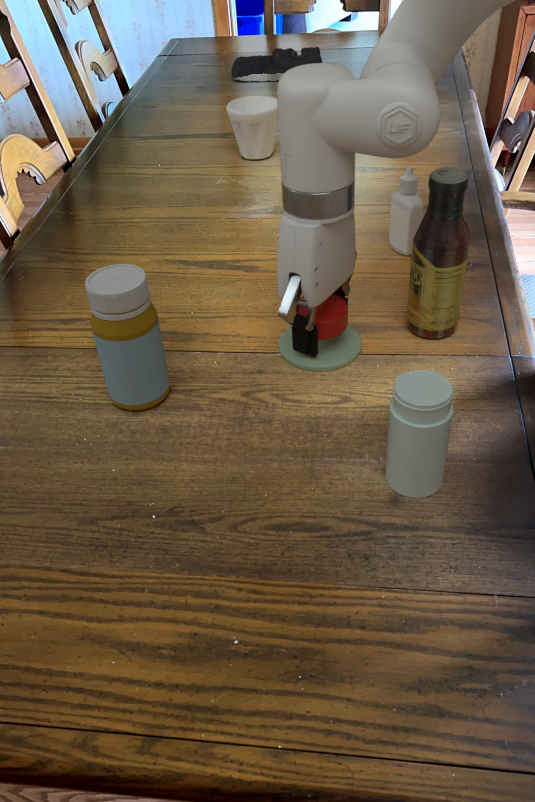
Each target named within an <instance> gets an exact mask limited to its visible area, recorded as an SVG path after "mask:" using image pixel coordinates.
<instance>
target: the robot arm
mask: <svg viewBox="0 0 535 802" xmlns="http://www.w3.org/2000/svg"><path fill="white" fill-rule="evenodd" d="M516 1H517V0H401V2H400V4H399V5H398V7H397V8H396V10H395V12H394V13H393V15H392V17H391V18H390V20H389V22H388V24H387V25H386V27H385V29H384V30H383V31H382V33H381V35H380V36H379V38H378V40H377V42H376V43H375V45H374V46H373V48H372V49H371V52H370V54H369V55H368V57H367V58H366V60H365V63H364V65H363V67H362V69H361V72H360V75H359V78H356V77H355V76H354V75H353V73H352V71H350V70H349V69H348V68H347V67H345V66H343V65H339V64H336V63H325V62H322V63H313V64H305V65H300V66H297V67H294V68H292V69H289V70H288V71H286V72H285V73H284V74H283V75H282V76H281V78H280V80H279V81H278V83H277V86H276V99H277V104H278V124H277V125H278V136H279V137H278V139H279V141H278V142H279V143H278V144H279V156H280V158H279V159H280V177H281V198H282V199H281V200H282V213H283V215H282V217H280V223H279V230H278V236H277V238H278V239H277V250H276V251H277V253H276V254H277V255H276V285H277V286H276V287H277V296H278V298H279V300H281V302H280V306H279V308H278V311H277V316H278V317H279V318H280V319H282V320H283V321H285V322H286V323H288V325H290V326H291V327H292V343H293V349H294V350H295V351H297V352H300V353H303V354H306V355H309V356H312V357H316V356H317V355H318V327H316V326H314V324H315V318H316V313H317V308H318V305H320V304H321V303H322V302H324V301H325V300H326V299H327V298H328V297H329V296H330V295H331V294H334V295H337V296H339V297H341V298H342V299H343V300H344V301H345V302H346V303H347V325H348V324H349V295H350V293H351V286H350V281H351V278H352V277H353V273H354V270H355V268H356V267H355V266H356V261H357V258H358V252H357V250H356V249H357V248H356V247H357V246H356V245H357V239H356V237H357V236H356V235H357V234H356V221H355V219H356V218H355V199H356V197H355V196H356V195H355V194H356V193H355V192H356V191H355V189H356V154H358V155H366V156H371V157H377V158H384V159H405V158H408V157H413V156H414V155H416V154H419V153H421V152H423V150H425V149H426V148H427V147H429V145H430V144H431V143H432V141H433V140H434V139H435V137H436V136H437V133H438V130H439V127H440V123H441V105H440V101H439V97H438V92H437V89H436V86H437V84H438V83H439V81H440V80H441V78H442V77H443V75H444V74H445V72H446V71H447V70H448V68H449V67H450V65H451V64H452V62H453V60H454V59H455V58H456V56H457V55H458V54H459V52H460V51H461V49H462V48H463V47H464V45H465V44H466V42H468V40H469V39H470V37H472V35H473V34H474V33H475V32H476V30H477V29H478V28H479V27H480V26H481V25H482V24H483V23H484V22H485V21H487V19H488V18H490V17H492V15H493V14H495V13H496V12H497V11H499V10H501V9H502V8H504V7H506V6H508V5H510V4H512V3H514V2H516ZM303 296H304V299H303V298H301V297H303ZM300 306H304V307H307V308H308V312H307V318H306V317H304V316H303V315H301V314H299V310H300Z"/></svg>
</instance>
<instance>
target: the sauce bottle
mask: <svg viewBox="0 0 535 802" xmlns="http://www.w3.org/2000/svg"><path fill="white" fill-rule="evenodd" d="M468 186H469V174H468V172H467V171H466V170H465V169H461V168H458V167H452V166H444V167H438V168H436V169H434V170H433V171H431V172H430V174H429V177H428V184H427V187H428V189H429V193H428V203H427V207H426V212H425V213H424V214H423V219H422V221H421V224H420V226H419V228H418V230H417V232H416V234H415V236H414V239H413V248H412V255H411V261H410V271H409V272H410V273H409V287H408V297H407V309H406V317H407V325H408V328H409V329H410V331H411V332H412V334H414V335H415V336H418V337H422V338H425V339H428V340H429V339H432V340H436V339H437V340H439V339H445V338H447V337H449V336H451V335H452V334H453V333H454V331H455V330H456V328H457V326H458V322H459V320H460V315H461V313H460V312H461V307H462V306H461V305H462V300H463V295H464V286H465V279H466V272H467V267H468V266H467V265H468V259H469V255H468V254H469V251H468V250H469V243H470V240H471V238H470V237H471V236H470V235H471V234H470V233H471V232H470V231H471V229H470V227H469V224H468V222H466V219H465V218H464V215H463V214H464V202H465V201H464V200H465V194H466V192H467V190H468Z"/></svg>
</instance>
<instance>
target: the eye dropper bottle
mask: <svg viewBox="0 0 535 802" xmlns="http://www.w3.org/2000/svg"><path fill="white" fill-rule="evenodd" d="M418 182H419V178H418V176H417V175H416V174H414V170H413V166H407V167H406V169H405V173H404V174H401V175H400V176H399V185H398V190H395V191H393V192H392V194H391V197H390V207H389V208H390V209H389V223H388V225H389V226H388V244H389V246H390V247H391V249H392V250H393V251H395V252H396V253H398V254H400V255H402V256H406V257H408V256H412V248H413V239H414V236H415V234H416V232H417V230H418V228H419V226H420V224H421V221H422V219H423V217H424V202H423V199H422V198H421V196H420V194H418V192H417V191H418Z"/></svg>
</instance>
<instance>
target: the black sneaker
mask: <svg viewBox="0 0 535 802" xmlns="http://www.w3.org/2000/svg"><path fill="white" fill-rule="evenodd" d="M271 53H272V54H271V55H269V54H268V55H250V56H237V57H236V58H235V59H234V61H232V65H231V78H232V77H234V78H237V77H243V76H248V75H251V74H263V73H264V74H265V73H266V74H276V73H281V74H282V73H285V72H286V71H288V70H289V69H292V68H294V67H297V66H300V65H305V64H313V63H323V59H322V56H321V48H320V47H319V46H315V47H314V46H313V47H312V46H308V47H301V49H300V54H298V52H297V51H296V50H294V48H292V47H289V48H284V49H283V48H281V47H276V48H274V49H272V52H271Z"/></svg>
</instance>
